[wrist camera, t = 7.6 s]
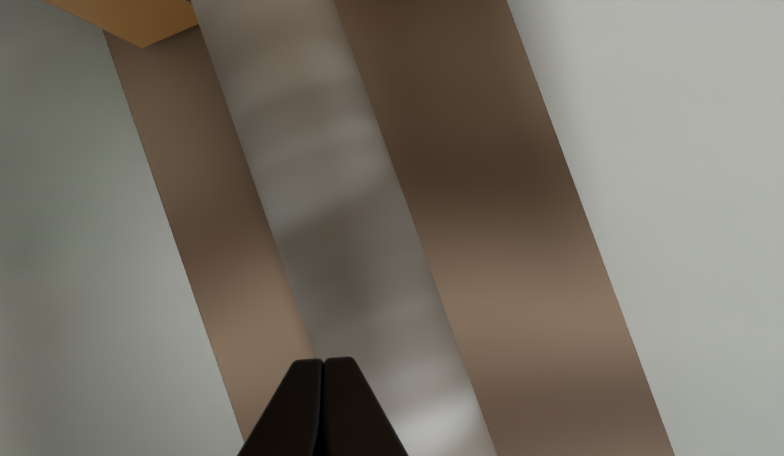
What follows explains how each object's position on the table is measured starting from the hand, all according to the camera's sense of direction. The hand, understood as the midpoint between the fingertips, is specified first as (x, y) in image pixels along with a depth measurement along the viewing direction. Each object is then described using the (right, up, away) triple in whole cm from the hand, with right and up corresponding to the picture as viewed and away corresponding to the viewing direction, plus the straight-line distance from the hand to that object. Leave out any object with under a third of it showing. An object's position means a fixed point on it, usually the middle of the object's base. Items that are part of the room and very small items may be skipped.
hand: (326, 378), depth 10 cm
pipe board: (0, +2, +8) cm, 9 cm away
